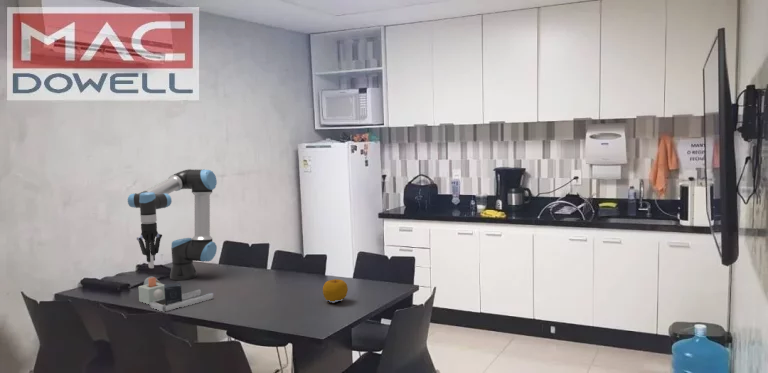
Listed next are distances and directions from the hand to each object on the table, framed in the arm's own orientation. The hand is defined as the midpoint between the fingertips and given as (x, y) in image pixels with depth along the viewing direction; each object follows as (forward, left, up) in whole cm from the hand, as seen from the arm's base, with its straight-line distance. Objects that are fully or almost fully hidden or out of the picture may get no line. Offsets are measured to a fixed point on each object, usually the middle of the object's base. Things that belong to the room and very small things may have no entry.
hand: (151, 267), depth 299 cm
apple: (-55, +78, -18) cm, 97 cm away
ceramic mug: (-10, -16, -18) cm, 26 cm away
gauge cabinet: (0, 0, -18) cm, 18 cm away
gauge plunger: (0, 0, -13) cm, 13 cm away
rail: (-7, +16, -18) cm, 25 cm away
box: (-2, +16, -18) cm, 24 cm away
